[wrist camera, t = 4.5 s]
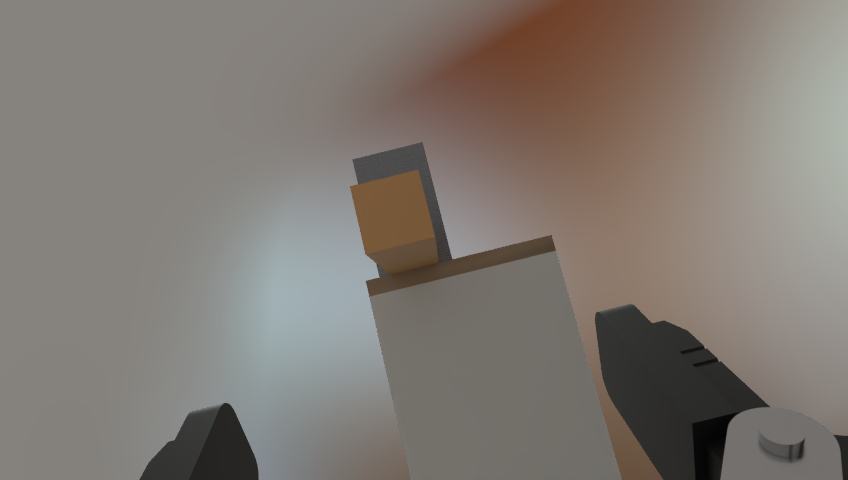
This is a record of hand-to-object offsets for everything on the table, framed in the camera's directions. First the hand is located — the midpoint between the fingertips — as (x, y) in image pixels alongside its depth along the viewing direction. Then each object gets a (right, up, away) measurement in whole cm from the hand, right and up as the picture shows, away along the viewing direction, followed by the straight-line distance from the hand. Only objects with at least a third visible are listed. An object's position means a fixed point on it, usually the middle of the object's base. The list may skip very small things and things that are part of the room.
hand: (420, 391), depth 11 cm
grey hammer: (0, +2, +14) cm, 15 cm away
